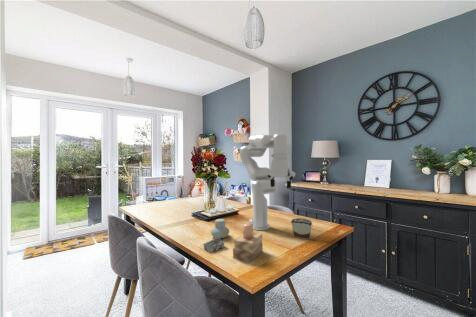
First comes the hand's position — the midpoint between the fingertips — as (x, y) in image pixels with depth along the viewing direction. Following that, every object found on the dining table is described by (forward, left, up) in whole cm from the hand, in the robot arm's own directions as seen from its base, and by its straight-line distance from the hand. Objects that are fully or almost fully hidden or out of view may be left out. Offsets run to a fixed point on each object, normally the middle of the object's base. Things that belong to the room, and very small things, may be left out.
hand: (280, 187), depth 125 cm
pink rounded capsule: (-6, -24, -22) cm, 33 cm away
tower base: (-6, -24, -31) cm, 39 cm away
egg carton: (-25, -27, -31) cm, 48 cm away
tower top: (-6, -24, -26) cm, 36 cm away
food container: (+7, +14, -31) cm, 34 cm away
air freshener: (-33, -14, -31) cm, 47 cm away
